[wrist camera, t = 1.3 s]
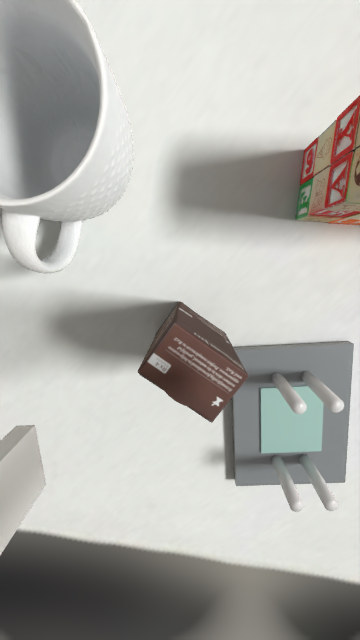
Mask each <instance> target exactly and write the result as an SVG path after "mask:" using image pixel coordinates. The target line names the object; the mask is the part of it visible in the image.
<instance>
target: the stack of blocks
mask: <svg viewBox="0 0 360 640" xmlns="http://www.w3.org/2000/svg"><path fill="white" fill-rule="evenodd" d="M296 220H302V221H318V222H327V223H336V224H354V225H360V96H359V97H358V98H357V99H356V100H354V101H353V102H352V104H350V105H349V106H348V107H347V108H346V109H345V110H344V111H343V112H342V113H341V114H340V115H339V116H338V117H337V120H335V121H334V122H333V123H332V124H331V125H330V126H329V127H328V128H327V129H326V130H325V131H324V132H323V133H322V134H321V135H320V136H319V137H317V138H316V139H315V140H314V141H313V142H312V143H311V144H310V145H309V146H308V147H307V148H306V149H305V151H304V158H303V165H302V172H301V180H300V191H299V199H298V206H297V213H296Z"/></svg>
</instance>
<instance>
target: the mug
mask: <svg viewBox="0 0 360 640" xmlns="http://www.w3.org/2000/svg"><path fill="white" fill-rule="evenodd" d="M133 147H134V146H133V135H132V132H131V124H130V122H129V118H128V112H127V110H126V108H125V103H124V100H123V98H122V96H121V94H120V89H119V86H118V84H117V83H116V80H115V77H114V73H113V71H112V70H111V68H110V66H109V63H108V60H107V57H106V55H105V53H104V52H103V49H102V47H101V45H100V42H99V40H98V38H97V36H96V33H95V31H94V29H93V27H92V25H91V23H90V22H89V20H88V18H87V16H86V15H85V13H84V11H83V10H82V8H81V7H80V6H79V4H78V3H77V1H76V0H0V208H2V209H3V211H2V228H3V234H4V238H5V241H6V244H7V247H8V249H9V251H10V253H11V255H12V256H13V257H14V259H15V260H16V261H17V262H18V263H20V264H21V265H22V266H24V267H25V268H27V269H30V270H32V271H36V272H39V273H55V272H58V271H60V270H62V269H64V268H65V267H66V266H68V265H69V263H70V262H71V261H72V259H73V257H74V255H75V253H76V250H77V247H78V243H79V239H80V234H81V228H82V221H83V220H87V219H91V218H94V217H96V216H99V215H101V214H103V213H104V212H106V211H108V210H109V209H110V208H112V207H113V206H114V205H115V204H116V203H117V201H119V200H120V198H121V197H122V196H123V194H124V192H125V191H126V188H127V187H128V183H129V181H130V177H131V173H132V169H133V160H134V155H133V151H134V149H133ZM40 219H43V220H51V221H62V224H61V230H60V234H59V239H58V242H57V245H56V248H55V250H54V252H53V253H52V254H51V255H50V256H49V257H48V258H46V259H44V260H40V259H39V258H38V256H37V254H36V249H35V245H36V235H37V230H38V226H39V223H40Z"/></svg>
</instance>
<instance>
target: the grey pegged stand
mask: <svg viewBox="0 0 360 640" xmlns="http://www.w3.org/2000/svg"><path fill="white" fill-rule="evenodd" d="M353 347H354V344H353V343H351V342H349V341H342V342H323V343H304V344H285V345H267V346H248V347H233V348H234V350H235V352H236V354H237V356H238V357H239V359H240V361H241V363H242V365H243V367H244V368H245V370H246V372H247V373H248V375H249V377H248V378H247V380H246V381H245V382H244V383H243V385H242V386H241V387H240V388H239V390H238V391H237V392H236V393H235V394H234V396H233V397H232V406H233V439H234V473H235V483H236V486H252V485H281V486H282V488H283V491H284V493H285V496H286V498H287V501H288V503H289V505H290V508H291V510H293V511H295V512H299V511H301V510H302V509H303V508H304V504H303V502H302V500H301V497H300V495H299V493H298V491H297V489H296V487H295V485H294V484H312V485H313V487H314V488H315V490H316V492H317V494H318V496H319V497H320V499H321V501H322V503H323V505H324V507H325V508H326V509H327V510H329V511H333V510H335V509H337V507H338V502H337V500H336V499H335V497H334V495H333V494H332V492H331V490H330V489H329V487H328V486H327V484H326V483H344V482H345V475H346V459H347V443H348V427H349V411H350V395H351V379H352V363H353Z"/></svg>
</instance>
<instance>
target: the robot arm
mask: <svg viewBox="0 0 360 640" xmlns="http://www.w3.org/2000/svg"><path fill="white" fill-rule="evenodd" d="M45 485H46V482H45V476H44V471H43V466H42V460H41V455H40V450H39V444H38V439H37V434H36V428H35V425H26V426H16V427H15V428H14V429H13V430H12V431H10V432H9V433H8V434H7V435H6V436H5V437H4V438H3V439H2V440H1V441H0V555H1V553H2V552H3V550H4V548H5V547H6V545H7V544H8V542H9V541H10V539H11V538H12V536H13V535H14V533H15V532H16V530H17V528H18V527H19V525H20V524H21V522H22V521H23V519H24V518H25V516H26V515H27V513H28V511H29V510H30V508H31V507H32V505H33V504H34V502H35V501H36V499H37V498H38V496H39V494H40V493H41V491H42V490H43V488H44V487H45Z"/></svg>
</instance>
